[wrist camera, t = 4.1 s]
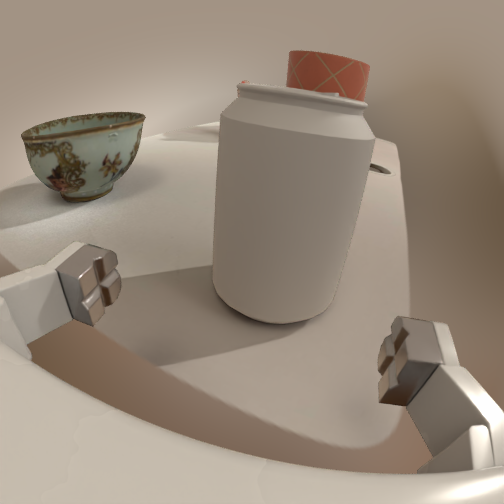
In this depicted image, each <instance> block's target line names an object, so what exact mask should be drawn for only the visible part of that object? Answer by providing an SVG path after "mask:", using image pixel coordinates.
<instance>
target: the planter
mask: <svg viewBox="0 0 504 504" xmlns="http://www.w3.org/2000/svg"><path fill="white" fill-rule="evenodd" d="M288 62H289V63H288V73H287V84H286V85H287V86H286V87H289V88H296V89H303V90H309V91H315V92H321V93H339V96H341V97H345V98H350V99H354V100H358V101H362V102H364V97H365V92H366V87H367V81H368V75H369V70H370V66H369V65H368V64H366V63H363V62H361V61H358V60H354V59H351V58H347V57H343V56H338V55H333V54H327V53H321V52H313V51H290V52H289V61H288Z"/></svg>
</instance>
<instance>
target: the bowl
mask: <svg viewBox="0 0 504 504" xmlns="http://www.w3.org/2000/svg"><path fill="white" fill-rule="evenodd" d="M145 118H146V117H145V116H144V115H143V114H140V113H131V112H108V113H96V114H87V115H79V116H72V117H67V118H62V119H57V120H53V121H49V122H45V123H43V124H40V125H37V126H34V127H32V128H30V129H28V130H26V131H25V132H23V133H22V134H21V137H22V139H23V141H24V144H25V149H26V153H27V157H28V161H29V163H30V166H31V168H32V170H33V172H34V173H35V175H36V176H37V177H38V178H39V180H40V181H41V182H43V183H44V184H45V185H46V186H47V187H49V188H51V189H53V190H56V191H59V192H60V193H61V196H62V198H63V199H64V200H66V201H70V202H82V201H90V200H94V199H97V198H100V197H102V196H104V195H106V194H107V193H109V192H110V191H111V190H112V187H113V182H115V181H116V180H118V179H119V178H120V177H121V176H122V175H123V174H124V173H125V172H126V171H127V170H128V168H129V167H130V165H131V164H132V162H133V160H134V158H135V156H136V154H137V151H138V149H139V145H140V140H141V133H142V126H143V122H144V120H145Z"/></svg>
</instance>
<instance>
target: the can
mask: <svg viewBox="0 0 504 504" xmlns="http://www.w3.org/2000/svg"><path fill="white" fill-rule="evenodd" d="M237 88H238V89H239V90H240V95H239V97H238V98H237V99H236V100H235V101H234V102H232V103H231V104H230V105H229V106H228V107H227V108H226V109H225V110H224V111H223V112H222V113H221V119H220V131H219V146H218V161H217V178H216V196H215V217H214V241H213V271H212V281H213V284H214V287H215V289H216V292H217V294H218V295H219V296H220V297H221V298H222V299H223V300H224V301H225V302H226V303H227V304H228V306H230V307H232V308H234V309H235V310H237V311H239V312H241V313H242V314H244V315H246V316H248V317H249V318H251V319H255V320H258V321H262V322H265V323H275V324H286V323H292V322H297V321H302V320H307V319H311V318H313V317H314V316H316V315H318V314H320V313H322V312H323V311H325V310H326V309H327V307H328V306H329V305H330V303H331V302H332V301H333V299H334V296H335V292H336V289H337V286H338V283H339V280H340V277H341V273H342V270H343V267H344V263H345V260H346V257H347V253H348V250H349V246H350V243H351V239H352V235H353V232H354V228H355V224H356V221H357V217H358V213H359V209H360V205H361V201H362V197H363V193H364V189H365V184H366V180H367V176H368V171H369V167H370V162H371V158H372V153H373V148H374V143H375V139H376V138H375V136H374V135H373V133H372V131H371V129H370V128H369V126H368V124H367V122H366V121H365V119H364V117H363V111H364V109H366V108H367V107H368V105H367V104H366V103H365V102H362V101H358V100H354V99H350V98H345V97H341V96H339V93H321V92H315V91H309V90H303V89H296V88H289V87H281V86H272V85H261V84H249V83H239V84H238V85H237Z"/></svg>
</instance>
